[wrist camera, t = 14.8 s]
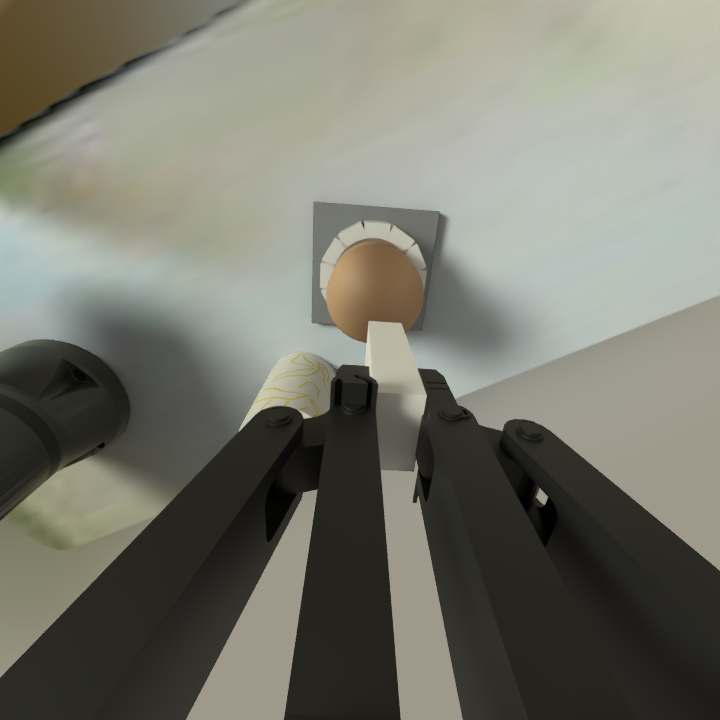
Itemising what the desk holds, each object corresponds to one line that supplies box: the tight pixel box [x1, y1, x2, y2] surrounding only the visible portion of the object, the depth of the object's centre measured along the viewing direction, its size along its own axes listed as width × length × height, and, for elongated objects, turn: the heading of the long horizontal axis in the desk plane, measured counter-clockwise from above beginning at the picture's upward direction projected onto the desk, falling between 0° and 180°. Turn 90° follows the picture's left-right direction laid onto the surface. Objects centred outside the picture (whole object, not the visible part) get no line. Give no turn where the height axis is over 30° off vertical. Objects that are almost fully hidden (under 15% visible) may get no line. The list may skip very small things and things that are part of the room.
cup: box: [238, 352, 336, 432], centre depth 36 cm, size 8×8×12 cm
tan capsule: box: [326, 238, 424, 343], centre depth 30 cm, size 7×7×11 cm
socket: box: [312, 202, 439, 331], centre depth 34 cm, size 12×12×6 cm
